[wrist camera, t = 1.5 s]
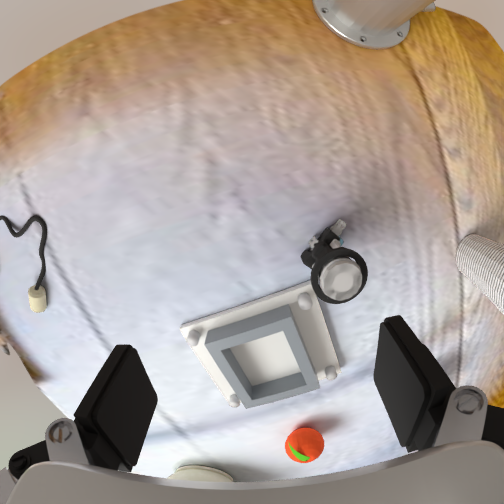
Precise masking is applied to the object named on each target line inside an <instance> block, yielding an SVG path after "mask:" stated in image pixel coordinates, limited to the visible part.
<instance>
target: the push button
mask: <svg viewBox="0 0 504 504" xmlns="http://www.w3.org/2000/svg"><path fill="white" fill-rule="evenodd" d="M339 222H340V223H339ZM338 223H339V224H338ZM346 225H347V224H346V223H345V222H343V221H342V220H341V219H339V220H338V221H337V222H336V224H335V225H333V226H332V227H331V228H330V229H329V228H328V227H327V228H326V229H325V230H324V232H323V233H322V234H321V236H320V237H319V238H318V239H316V237H315V236H314V237H313V238H312V239H311V240H310V242H309V245H310V247H311V248H310V249H309V251H306V250H305V251H304V252H303V253H302V255H301V259H302V261H303V263H304V264H305V265H306V266H308V267H309V268H311V269H312V271H311V285H312V288H313V290H314V292H315V294H316V295H317V296H318V297H319V298H320V299H321V300H323V301H325V302H327V303H332V304H340V303H345V302H348V301H350V300H352V299H353V298H355V297H356V296H357V295H358V294H359V293H360V292H361V291H362V289H363V288H364V286H365V284H366V281H367V276H368V270H367V266H366V263H365V261H364V259H363V258H362V257H361V256H360V255H359V254H358V253H357V252H355V251H353V250H351V249H347V248H344V247H341V246H342V244H343V242H344V241H343V240H342V239H341V238H340V237H339V236H340V235H341V234H342V230H343V229H344V228H345V227H346ZM342 226H343V227H342ZM341 227H342V228H341ZM312 240H313V241H312ZM311 241H312V242H311ZM349 257H351V258H353V259H355V261H356V262H354V261H352V260H351V259H350V258H349ZM318 278H319V280H320V285H319V284H318Z"/></svg>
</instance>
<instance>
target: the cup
mask: <svg viewBox="0 0 504 504" xmlns="http://www.w3.org/2000/svg"><path fill="white" fill-rule="evenodd" d="M455 261H456V266H457V268H458V270H459V271H460V272H461V273H462V274H463V275H465V276H466V277H467V278H468V279H469V280H470V281H471V282H472V283H473V284H474V285H475V286H476V287H477V288H478V289H479V290H480V291H481V292H482V293H483V294H484V295H485V296H486V297H487V298H488V299H489V300H490V301H491V302H492V303H493V304H494V305H495V306H496V307H497V308H498V309H499V310H500V311H501V312H502V314H503V315H504V244H501V243H499V242H496V241H493V240H490V239H488V238H485V237H482V236H479V235H476V234H470V235H468V236H466V237H464V239H463V240H462V241H461V242H460V244H459V246H458V248H457V250H456V256H455Z"/></svg>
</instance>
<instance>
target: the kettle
mask: <svg viewBox="0 0 504 504" xmlns="http://www.w3.org/2000/svg"><path fill="white" fill-rule="evenodd" d="M167 479H176V480H188V481H204V482H234V481H233V478H232V477H231V476H230V475H229V474H227V473H226V472H223V471H221V470H218V469H215V468H211V467H206V466H197V465H189V466H183V467H180V468H178V469H177V470H176V471H175V473H174V474H172V475H170V476H169V477H168V478H167Z"/></svg>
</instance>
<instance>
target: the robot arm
mask: <svg viewBox="0 0 504 504" xmlns="http://www.w3.org/2000/svg"><path fill="white" fill-rule="evenodd" d="M434 1H435V0H312V2H313V6H314V9H315V11H316V13H317V15H318V17H319V18H320V19H321V21H322V22H323V23H324V24H325V25H326V26H327V27H328V28H329V29H330V30H331V31H332V32H334V33H335V34H336V35H338V36H339V37H340V38H342V39H344V40H346V41H348V42H350V43H352V44H354V45H357V46H360V47H364V48H367V49H376V50H377V49H387V48H391V47H393V46H395V45H397V44H399V43H400V42H401V41H403V40H404V39H405V37H406V36H407V34H408V32H409V29H410V19H411V18H412V17H413V16H415V15H416V14H417V13H419V12H420V11H423V12H433V11H435V4H434ZM323 12H324V13H323ZM361 40H362V41H363V42H362V41H361ZM374 382H375V385H376V387H377V389H378V391H379V394H380V396H381V398H382V401H383V403H384V406H385V408H386V410H387V413H388V415H389V418H390V420H391V422H392V425H393V427H394V430H395V432H396V435H397V437H398V440H399V442H400V445H401V446H402V447H405V446H406V449H407V451H408V453H409V452H412V451H415V450H418V452H415V453H411V454H408V455H405V456H402V457H398V458H395V459H391V460H388V461H384V462H380V463H376V464H372V465H368V466H364V467H360V468H355V469H351V470H346V471H341V472H336V473H331V474H325V475H318V476H312V477H304V478H296V479H286V480H275V481H259V482H204V481H188V480H176V479H167V478H159V477H151V476H145V475H139V474H133V473H127V472H131V470H132V467H133V466H135V465H136V464H137V461H138V458H139V455H140V452H141V449H142V446H143V443H144V440H145V437H146V434H147V431H148V428H149V425H150V422H151V419H152V417H153V414H154V411H155V408H156V405H157V401H158V399H157V394H156V392H155V390H154V388H153V386H152V384H151V382H150V379H149V377H148V375H147V373H146V371H145V368H144V366H143V364H142V362H141V359H140V357H139V355H138V352H137V350H136V349H135V348H133V347H132V346H131V345H116V346H115V348H114V349H113V351H112V352H111V354H110V355H109V357H108V359H107V360H106V362H105V363H104V365H103V367H102V368H101V370H100V371H99V373H98V375H97V376H96V378H95V380H94V381H93V383H92V384H91V386H90V388H89V389H88V391H87V393H86V394H85V396H84V398H83V400H82V401H81V403H80V405H79V406H78V408H77V410H76V412H75V413H74V416H75V420H74V421H72V420H71V419H68V418H61V419H58V420H56V421H54V422H52V423H51V424H50V425H49V426H48V428H47V430H46V433H45V439H46V440H44V441H42V442H39V443H37V444H35V445H32V446H30V447H28V448H25V449H23V450H20V451H18V452H16V453H15V454H14V455H13V456H12V457H11V459H10V461H9V469H7V468H6V467H5V468H4V469H2V470H1V471H0V504H504V408H500V407H496V406H491V405H488V402H487V397H486V395H485V394H484V392H483V391H482V390H480V389H479V388H477V387H474V386H461V387H459V388H457V389H456V388H455V386H454V385H453V383H452V382H451V380H450V379H449V377H448V376H447V375H446V373H445V372H444V370H443V369H442V367H441V366H440V365H439V363H438V362H437V360H436V359H435V358H434V356H433V355H432V353H431V352H430V351H429V349H428V348H427V347H426V346H425V345H424V344H422V343H421V342H420V341H419V339H418V338H417V337H416V335H415V334H414V333H413V331H412V330H411V329H410V327H409V326H408V325H407V323H406V322H405V321H404V319H403V318H402V317H401V316H400V315H397V316H392V317H388V318H385V320H384V322H382V323H381V324H380V331H379V340H378V348H377V355H376V362H375V369H374ZM118 470H121V471H126V472H121V471H118Z"/></svg>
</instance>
